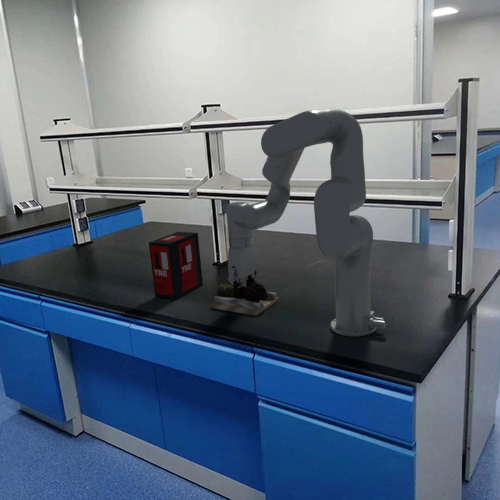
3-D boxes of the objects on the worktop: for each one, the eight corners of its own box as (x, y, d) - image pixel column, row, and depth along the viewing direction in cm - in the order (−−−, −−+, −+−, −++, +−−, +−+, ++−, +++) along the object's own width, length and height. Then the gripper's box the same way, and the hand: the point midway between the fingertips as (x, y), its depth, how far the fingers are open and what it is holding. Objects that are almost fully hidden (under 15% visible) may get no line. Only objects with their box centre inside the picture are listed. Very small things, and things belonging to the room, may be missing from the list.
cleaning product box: (183, 283, 191) (177, 231, 186) (203, 285, 187) (197, 232, 182) (155, 297, 178) (148, 242, 173) (175, 300, 173) (169, 244, 168)
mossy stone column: (217, 298, 167) (215, 282, 166) (229, 292, 172) (227, 276, 171) (262, 306, 157) (261, 288, 156) (273, 299, 162) (272, 282, 161)
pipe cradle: (278, 300, 166) (278, 291, 165) (256, 315, 155) (255, 305, 154) (235, 294, 175) (235, 285, 174) (211, 308, 164) (211, 298, 163)
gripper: (245, 234, 169) (249, 285, 173) (215, 247, 155) (220, 302, 159) (265, 236, 165) (268, 288, 169) (235, 249, 151) (240, 305, 155)
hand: (245, 294), depth 164 cm, fingers closed on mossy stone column, 6 cm apart
